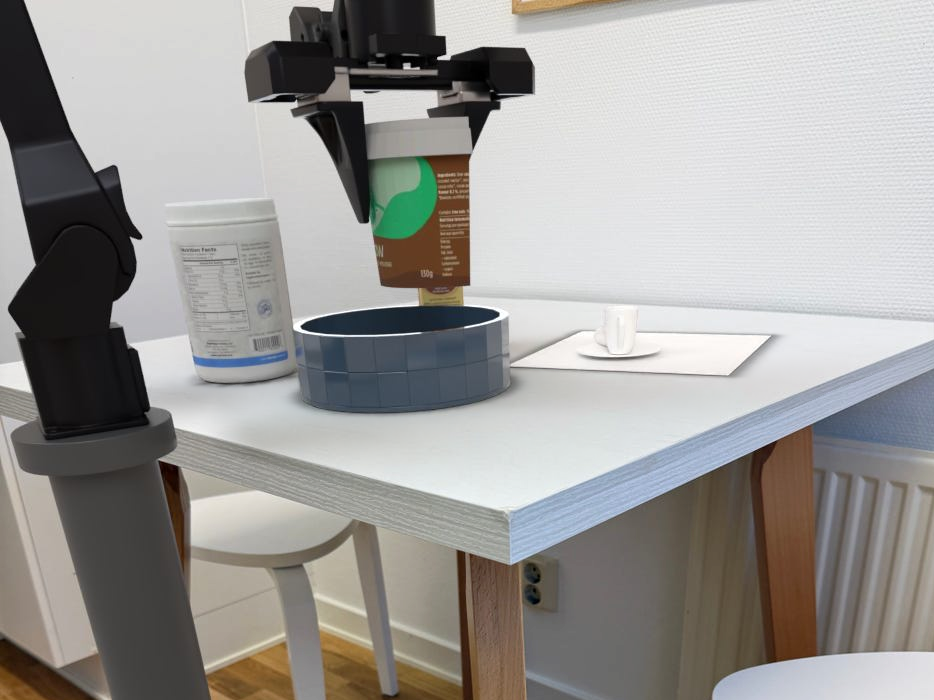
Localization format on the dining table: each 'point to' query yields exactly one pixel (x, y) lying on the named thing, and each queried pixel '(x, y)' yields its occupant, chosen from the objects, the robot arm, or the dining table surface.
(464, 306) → the pot
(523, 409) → the dining table surface
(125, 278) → the robot arm
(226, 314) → the supplement tub
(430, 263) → the food container
